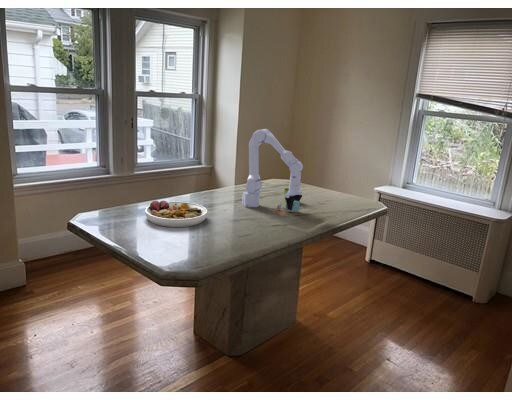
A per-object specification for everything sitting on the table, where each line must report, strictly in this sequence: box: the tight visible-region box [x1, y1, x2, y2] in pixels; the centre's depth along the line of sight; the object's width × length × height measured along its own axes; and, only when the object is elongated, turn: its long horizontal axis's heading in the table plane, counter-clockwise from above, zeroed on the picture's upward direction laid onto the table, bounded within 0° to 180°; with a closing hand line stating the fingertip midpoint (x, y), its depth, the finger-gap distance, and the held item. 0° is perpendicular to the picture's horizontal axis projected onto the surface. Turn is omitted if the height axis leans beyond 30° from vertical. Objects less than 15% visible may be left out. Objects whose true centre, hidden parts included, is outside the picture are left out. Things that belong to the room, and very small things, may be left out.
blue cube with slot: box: [285, 200, 301, 212], centre depth 229 cm, size 5×5×5 cm
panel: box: [268, 207, 303, 216], centre depth 231 cm, size 15×13×1 cm
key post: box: [275, 203, 282, 211], centre depth 232 cm, size 2×1×4 cm, turn 110°
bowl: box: [144, 200, 208, 228], centre depth 209 cm, size 30×30×8 cm
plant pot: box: [282, 187, 289, 203], centre depth 250 cm, size 9×9×9 cm
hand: (292, 208), depth 230 cm, fingers closed on blue cube with slot, 5 cm apart
